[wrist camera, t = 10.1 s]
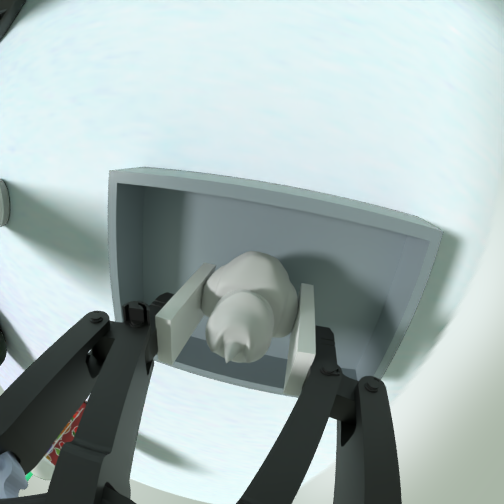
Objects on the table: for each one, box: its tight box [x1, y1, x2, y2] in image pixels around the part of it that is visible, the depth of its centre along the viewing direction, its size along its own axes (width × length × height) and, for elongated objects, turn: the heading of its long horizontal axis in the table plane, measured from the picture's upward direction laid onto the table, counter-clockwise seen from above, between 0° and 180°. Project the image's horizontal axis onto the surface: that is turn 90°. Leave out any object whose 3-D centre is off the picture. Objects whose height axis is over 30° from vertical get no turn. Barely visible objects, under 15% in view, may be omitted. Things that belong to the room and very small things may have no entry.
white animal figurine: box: [201, 251, 299, 363], centre depth 14 cm, size 5×7×8 cm
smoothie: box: [25, 402, 86, 482], centre depth 23 cm, size 8×8×20 cm
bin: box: [108, 167, 443, 398], centre depth 17 cm, size 13×19×4 cm
